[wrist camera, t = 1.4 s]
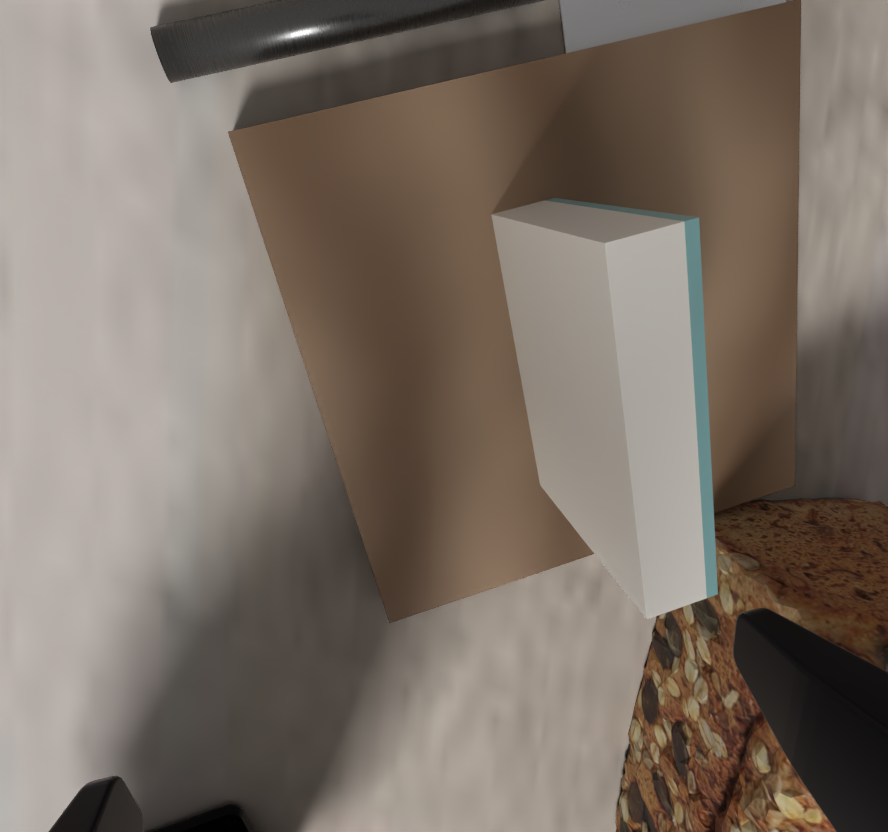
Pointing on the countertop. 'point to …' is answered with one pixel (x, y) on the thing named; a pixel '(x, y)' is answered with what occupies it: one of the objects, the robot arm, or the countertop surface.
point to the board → (482, 288)
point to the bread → (722, 686)
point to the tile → (617, 386)
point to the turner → (398, 26)
